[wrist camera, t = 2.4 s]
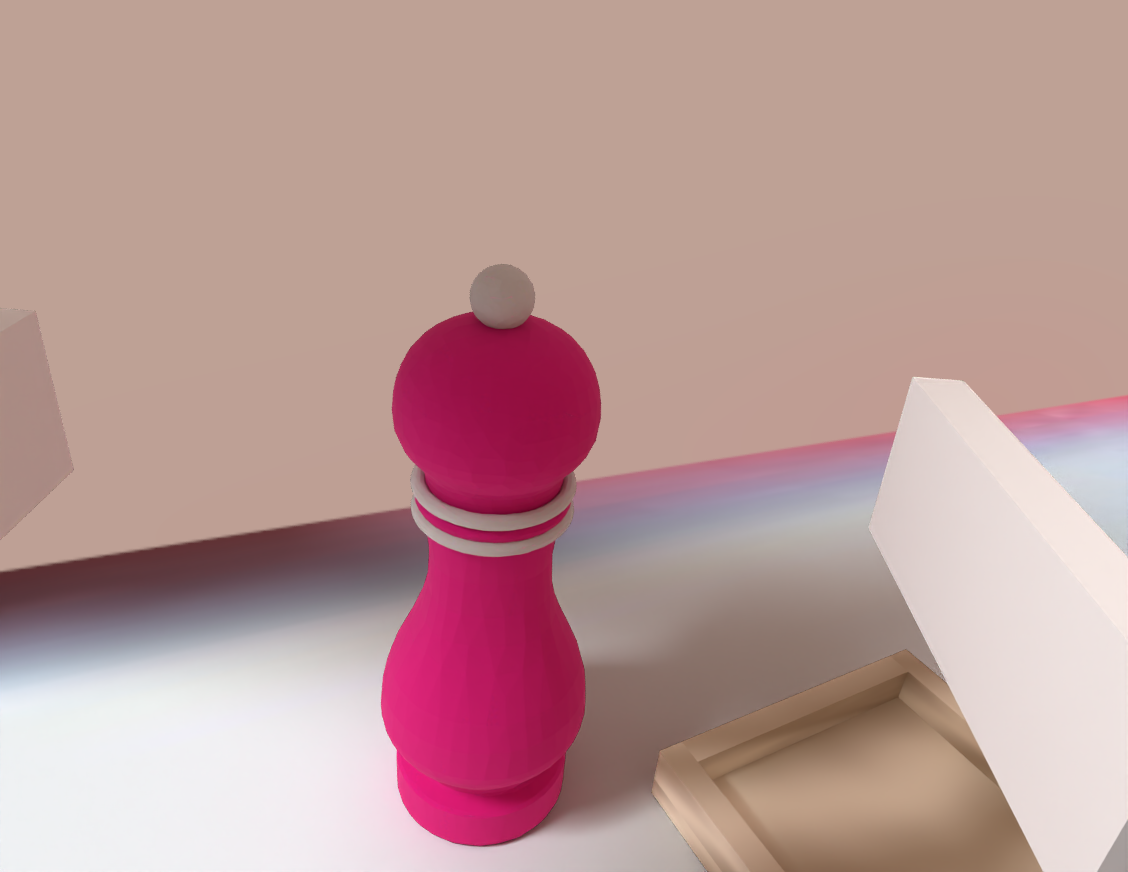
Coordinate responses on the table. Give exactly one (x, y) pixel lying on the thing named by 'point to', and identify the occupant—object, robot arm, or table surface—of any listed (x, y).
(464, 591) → the pepper mill
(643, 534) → the table surface
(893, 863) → the base
